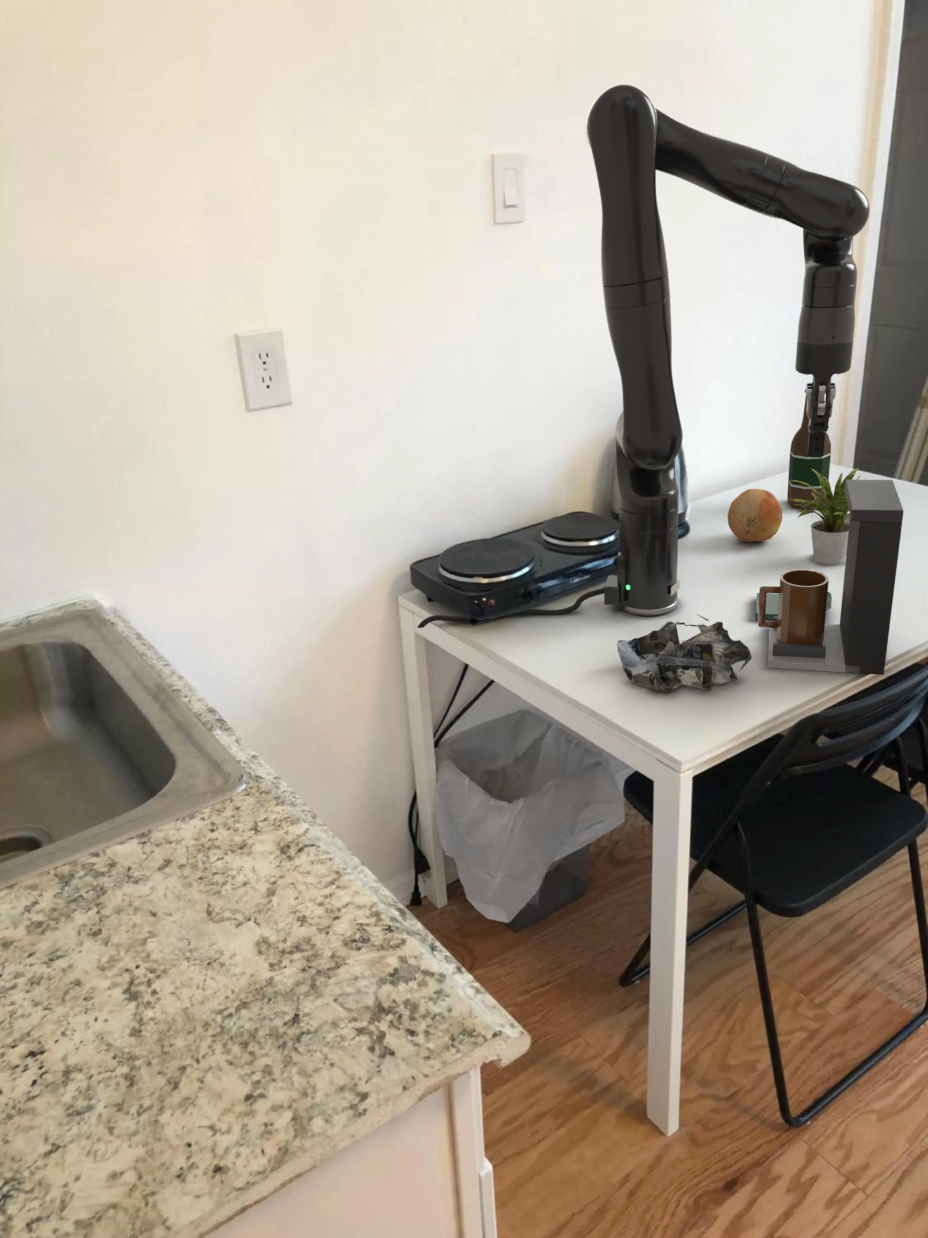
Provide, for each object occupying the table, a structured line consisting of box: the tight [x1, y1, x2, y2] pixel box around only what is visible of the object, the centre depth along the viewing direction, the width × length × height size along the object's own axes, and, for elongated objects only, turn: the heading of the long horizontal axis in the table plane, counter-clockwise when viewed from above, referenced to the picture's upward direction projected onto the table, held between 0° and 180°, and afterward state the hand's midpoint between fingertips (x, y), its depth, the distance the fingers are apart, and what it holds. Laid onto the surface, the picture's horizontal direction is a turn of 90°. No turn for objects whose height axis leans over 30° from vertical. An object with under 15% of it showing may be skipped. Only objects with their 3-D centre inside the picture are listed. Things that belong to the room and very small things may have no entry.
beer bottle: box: [786, 388, 832, 510], centre depth 187 cm, size 8×8×24 cm
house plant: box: [790, 467, 861, 566], centre depth 162 cm, size 14×14×16 cm
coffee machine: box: [767, 479, 904, 676], centre depth 130 cm, size 15×13×24 cm
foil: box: [616, 614, 752, 693], centre depth 130 cm, size 12×11×15 cm
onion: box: [727, 488, 783, 542], centre depth 174 cm, size 10×10×10 cm
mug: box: [757, 568, 829, 646], centre depth 134 cm, size 9×6×10 cm
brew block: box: [755, 591, 833, 621], centre depth 147 cm, size 11×8×3 cm
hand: (815, 455), depth 140 cm, fingers closed
